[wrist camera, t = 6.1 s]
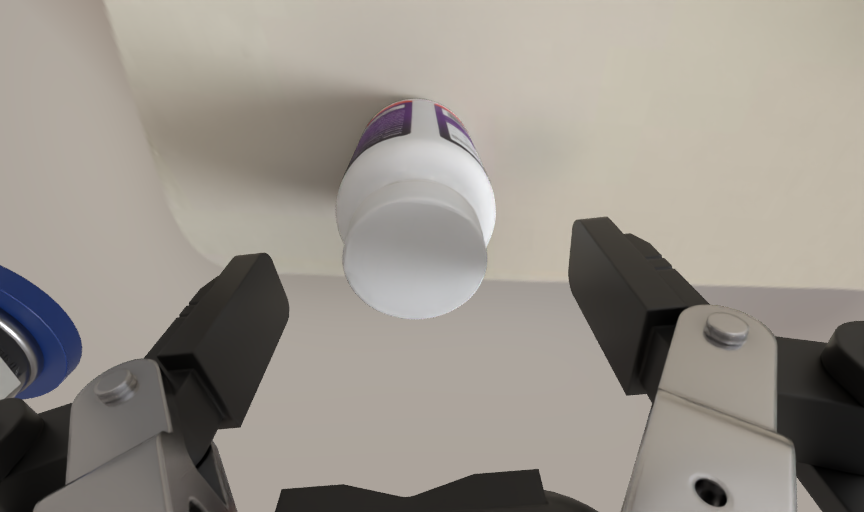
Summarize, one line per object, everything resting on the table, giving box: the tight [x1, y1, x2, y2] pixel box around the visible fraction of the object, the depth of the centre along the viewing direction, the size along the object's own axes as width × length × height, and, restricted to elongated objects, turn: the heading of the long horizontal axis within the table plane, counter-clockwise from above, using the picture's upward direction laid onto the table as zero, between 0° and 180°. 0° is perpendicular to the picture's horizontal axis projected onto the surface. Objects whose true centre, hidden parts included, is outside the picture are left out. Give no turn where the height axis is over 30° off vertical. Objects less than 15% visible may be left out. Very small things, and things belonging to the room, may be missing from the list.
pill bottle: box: [336, 99, 496, 319], centre depth 15 cm, size 5×5×10 cm
